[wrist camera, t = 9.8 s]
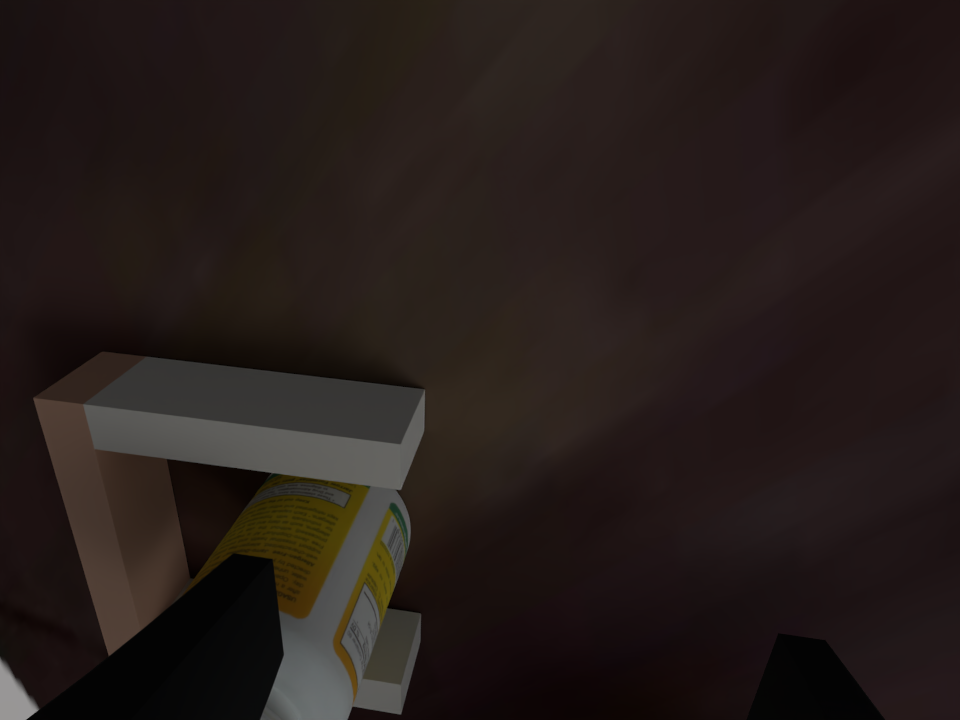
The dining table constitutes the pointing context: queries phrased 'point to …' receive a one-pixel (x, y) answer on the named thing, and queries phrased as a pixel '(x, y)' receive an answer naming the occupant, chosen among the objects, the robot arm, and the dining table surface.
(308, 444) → the frame
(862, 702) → the robot arm
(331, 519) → the supplement bottle
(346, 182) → the dining table surface
